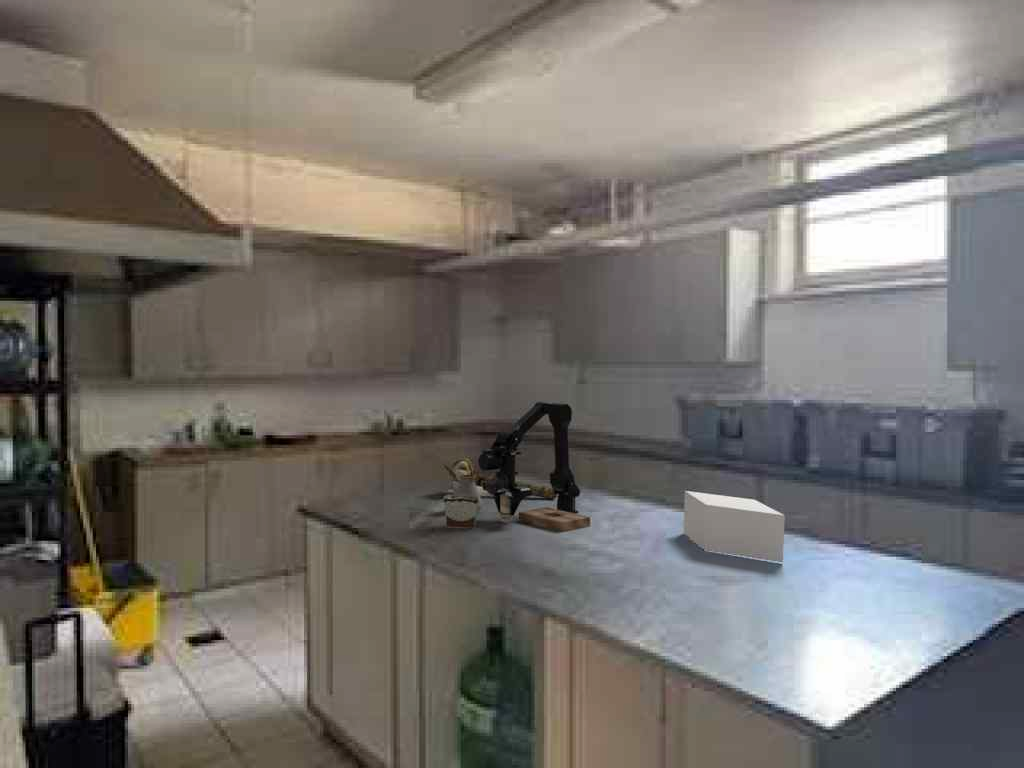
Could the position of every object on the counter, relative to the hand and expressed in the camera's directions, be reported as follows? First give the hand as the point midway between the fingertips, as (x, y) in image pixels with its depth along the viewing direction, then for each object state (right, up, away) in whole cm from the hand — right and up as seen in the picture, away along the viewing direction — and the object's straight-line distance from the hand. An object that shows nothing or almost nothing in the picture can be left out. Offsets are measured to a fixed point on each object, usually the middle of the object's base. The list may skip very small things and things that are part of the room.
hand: (506, 514), depth 256 cm
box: (+68, -6, -28) cm, 73 cm away
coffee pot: (-17, -2, +18) cm, 25 cm away
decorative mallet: (-3, -1, +44) cm, 44 cm away
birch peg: (0, -3, 0) cm, 2 cm away
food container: (-14, -3, -8) cm, 17 cm away
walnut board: (+16, -3, -1) cm, 16 cm away
